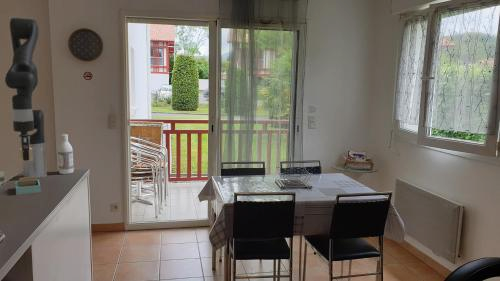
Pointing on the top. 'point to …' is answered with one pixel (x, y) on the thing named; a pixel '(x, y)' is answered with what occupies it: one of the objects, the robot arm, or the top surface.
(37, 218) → the top surface
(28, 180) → the block
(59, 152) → the bath foam
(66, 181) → the top surface
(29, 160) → the light box
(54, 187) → the top surface
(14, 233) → the top surface
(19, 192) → the tote
